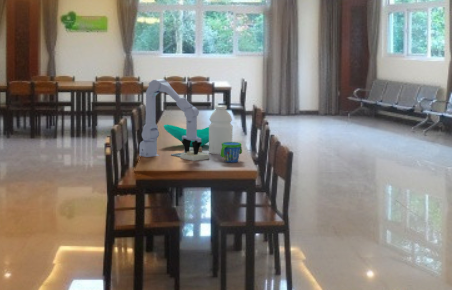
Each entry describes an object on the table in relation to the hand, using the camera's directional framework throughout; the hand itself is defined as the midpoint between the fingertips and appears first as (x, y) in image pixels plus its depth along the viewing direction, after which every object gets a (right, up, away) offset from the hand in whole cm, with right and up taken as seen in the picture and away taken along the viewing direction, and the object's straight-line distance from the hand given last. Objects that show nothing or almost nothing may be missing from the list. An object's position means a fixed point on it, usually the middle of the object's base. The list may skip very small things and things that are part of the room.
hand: (191, 153), depth 360 cm
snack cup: (+22, -5, -4) cm, 23 cm away
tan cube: (+2, 0, +18) cm, 18 cm away
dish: (+2, -3, +2) cm, 4 cm away
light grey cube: (-2, -1, +14) cm, 14 cm away
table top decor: (0, +4, +51) cm, 51 cm away
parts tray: (-2, -1, +14) cm, 14 cm away
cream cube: (0, -3, +1) cm, 3 cm away
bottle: (+16, 0, +24) cm, 29 cm away
